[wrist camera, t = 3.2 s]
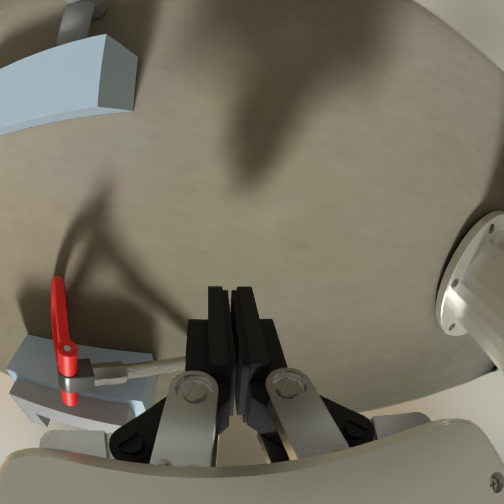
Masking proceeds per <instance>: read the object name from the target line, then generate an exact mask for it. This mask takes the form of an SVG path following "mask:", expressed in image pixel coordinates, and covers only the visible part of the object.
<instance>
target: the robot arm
mask: <svg viewBox="0 0 504 504" xmlns="http://www.w3.org/2000/svg"><path fill="white" fill-rule="evenodd" d="M436 318H437V322H438V324H439V325H440V327H441V328H442V329H443V330H444V331H445V333H447V334H449V335H451V336H459V335H463V334H466V333H469V334H470V335H471V336H472V337H473V339H474V340H475V341H476V342H477V343H478V344H479V345H480V347H481V348H482V349H483V350H484V351H485V353H486V354H487V355H488V356H489V357H490V359H491V360H492V361H493V362H494V364H495V365H496V366H497V367H498V369H499V370H500V371H501V372H502V374H503V375H504V212H503V211H493V212H491V213H489V214H487V215H485V216H484V217H483V218H482V219H480V220H479V221H478V222H477V223H476V224H475V225H474V226H473V227H472V228H471V229H470V230H469V232H468V233H467V234H466V236H465V237H464V238H463V240H462V241H461V243H460V244H459V246H458V247H457V249H456V251H455V252H454V254H453V256H452V258H451V260H450V262H449V264H448V266H447V268H446V271H445V273H444V276H443V278H442V281H441V284H440V287H439V291H438V295H437V301H436ZM234 394H235V402H236V410H237V415H243V422H244V423H245V422H247V425H248V426H250V427H251V428H253V429H254V430H256V436H257V439H258V441H259V444H260V447H261V449H262V452H263V454H264V457H265V460H266V462H267V464H259V465H248V466H232V467H231V466H230V467H216V462H217V453H218V443H219V434H220V433H222V432H223V431H224V430H225V429H226V428H227V427H228V426H229V415H233V406H234ZM0 504H504V463H503V462H502V460H501V458H500V456H499V454H498V453H497V451H496V449H495V448H494V446H493V445H492V443H491V442H490V440H489V439H488V437H487V436H486V435H485V433H484V432H483V431H482V430H481V429H480V428H479V426H477V425H476V424H475V423H473V422H471V421H469V420H464V419H442V420H437V421H432V422H431V421H430V418H429V417H427V416H426V415H425V414H422V413H420V412H413V413H404V414H394V415H383V416H373V417H372V419H368V418H366V417H365V416H363V415H361V414H359V413H356V412H354V411H352V410H350V409H348V408H346V407H343V406H341V405H339V404H337V403H335V402H333V401H331V400H329V399H327V398H325V397H323V396H321V395H319V394H318V392H317V391H316V389H315V387H314V385H313V384H312V382H311V380H310V379H309V378H308V376H307V375H306V374H304V373H303V372H302V371H300V370H297V369H294V368H288V367H287V364H286V361H285V358H284V354H283V351H282V348H281V345H280V341H279V338H278V335H277V332H276V329H275V325H274V322H273V320H272V319H259V315H258V311H257V307H256V303H255V299H254V294H253V290H252V287H237V290H232V293H231V312H230V306H229V298H228V290H222V286H208V320H200V319H189V320H188V330H187V344H186V361H185V372H183V373H181V374H179V375H177V376H176V377H175V378H174V379H173V380H172V382H171V384H170V387H169V391H168V394H167V397H165V398H164V399H162V400H161V401H159V402H158V403H157V404H155V405H154V406H152V407H151V408H149V409H148V410H146V411H145V412H143V413H142V414H140V415H138V416H137V417H135V418H134V419H132V420H131V421H129V422H128V423H126V424H124V425H123V426H121V427H120V428H118V429H117V430H116V431H115V432H113V433H105V431H104V430H101V431H65V430H52V431H48V432H47V433H45V434H44V435H43V437H42V438H41V441H40V448H28V449H22V450H18V451H15V452H13V453H11V454H9V455H8V456H7V457H6V458H5V460H4V461H3V463H2V465H1V466H0Z"/></svg>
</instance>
